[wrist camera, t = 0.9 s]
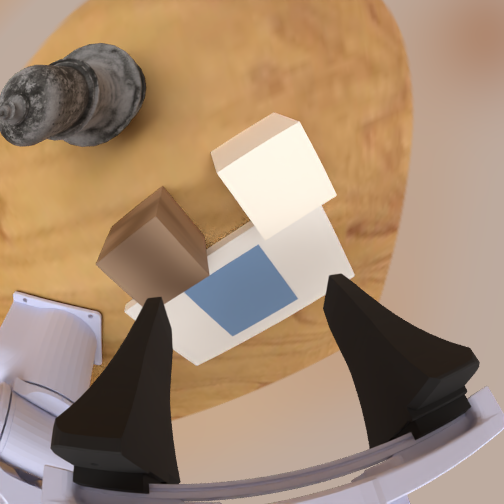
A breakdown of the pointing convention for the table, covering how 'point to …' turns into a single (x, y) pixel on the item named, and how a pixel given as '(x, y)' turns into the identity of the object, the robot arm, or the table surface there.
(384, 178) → the table surface
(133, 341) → the robot arm
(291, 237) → the board
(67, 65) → the grey tall round piece
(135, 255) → the walnut block
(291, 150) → the cream block
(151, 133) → the table surface
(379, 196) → the table surface
